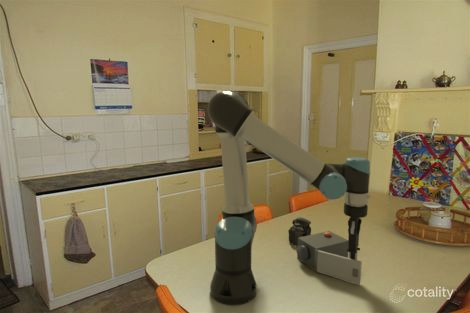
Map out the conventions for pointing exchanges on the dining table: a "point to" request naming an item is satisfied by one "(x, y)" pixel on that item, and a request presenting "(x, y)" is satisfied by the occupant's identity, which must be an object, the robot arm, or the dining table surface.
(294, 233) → the camera
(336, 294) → the dining table surface
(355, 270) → the door
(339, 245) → the case
